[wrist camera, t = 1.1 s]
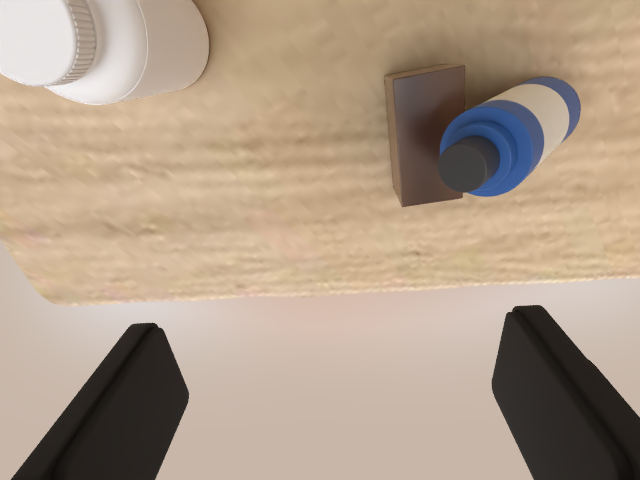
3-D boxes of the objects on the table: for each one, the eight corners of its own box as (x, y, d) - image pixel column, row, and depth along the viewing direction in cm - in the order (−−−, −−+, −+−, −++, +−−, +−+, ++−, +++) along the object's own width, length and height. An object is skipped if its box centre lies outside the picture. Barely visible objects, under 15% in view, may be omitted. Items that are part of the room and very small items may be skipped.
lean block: (444, 63, 28) (465, 65, 23) (445, 179, 32) (462, 198, 28) (383, 75, 28) (392, 79, 24) (393, 187, 33) (401, 207, 29)
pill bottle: (230, 68, 29) (139, 77, 15) (151, 104, 30) (8, 140, 17) (179, -43, 25) (6, -154, 12) (94, 5, 27) (-140, -47, 14)
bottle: (558, 70, 27) (708, 80, 16) (548, 141, 30) (671, 193, 19) (407, 98, 29) (445, 125, 18) (410, 163, 32) (446, 222, 21)
